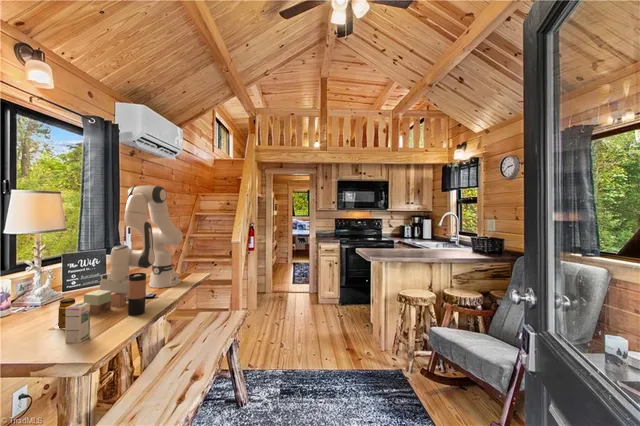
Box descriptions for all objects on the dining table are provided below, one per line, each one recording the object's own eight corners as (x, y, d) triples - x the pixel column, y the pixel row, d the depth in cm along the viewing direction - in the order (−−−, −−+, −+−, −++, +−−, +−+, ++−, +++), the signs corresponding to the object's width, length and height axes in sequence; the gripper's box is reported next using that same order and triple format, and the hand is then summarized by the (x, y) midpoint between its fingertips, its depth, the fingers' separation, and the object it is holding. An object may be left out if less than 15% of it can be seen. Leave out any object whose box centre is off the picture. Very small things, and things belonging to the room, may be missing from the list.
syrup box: (80, 343, 121) (81, 307, 120) (64, 343, 120) (65, 306, 120) (89, 336, 126) (90, 302, 126) (74, 336, 126) (75, 302, 125)
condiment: (71, 328, 133) (71, 301, 133) (48, 329, 131) (49, 302, 131) (80, 322, 140) (81, 296, 140) (58, 323, 138) (59, 297, 138)
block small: (118, 302, 168) (118, 292, 168) (126, 303, 168) (126, 292, 167) (110, 305, 163) (111, 294, 163) (119, 306, 163) (119, 295, 162)
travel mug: (142, 310, 159) (144, 272, 159) (147, 314, 154) (148, 275, 153) (125, 313, 154) (127, 274, 153) (129, 317, 148) (130, 277, 148)
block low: (96, 308, 158) (97, 299, 158) (110, 310, 157) (111, 300, 157) (83, 314, 150) (83, 304, 150) (97, 315, 149) (97, 305, 149)
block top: (97, 299, 158) (97, 289, 158) (111, 300, 157) (111, 291, 157) (83, 304, 150) (83, 294, 150) (98, 305, 149) (98, 295, 149)
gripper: (141, 275, 167) (140, 300, 167) (107, 273, 169) (106, 297, 170) (133, 278, 161) (132, 304, 161) (97, 275, 163) (97, 301, 163)
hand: (118, 300), depth 165 cm, fingers open, 8 cm apart
